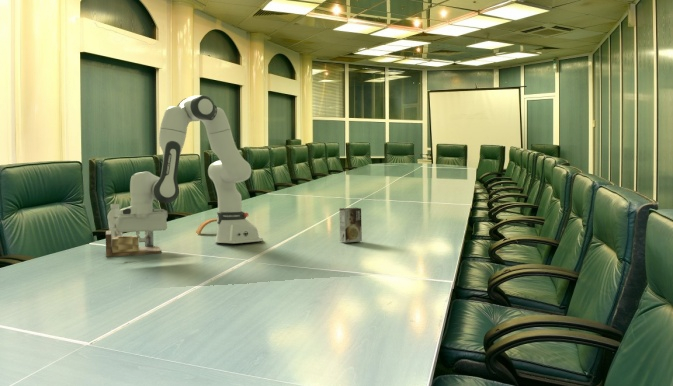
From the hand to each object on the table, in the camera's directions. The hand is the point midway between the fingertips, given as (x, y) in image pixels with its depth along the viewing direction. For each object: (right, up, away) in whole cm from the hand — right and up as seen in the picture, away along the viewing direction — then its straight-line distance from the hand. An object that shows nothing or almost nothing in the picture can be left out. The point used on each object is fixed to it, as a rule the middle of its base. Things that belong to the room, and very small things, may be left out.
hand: (142, 242), depth 210 cm
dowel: (-2, -4, +13) cm, 14 cm away
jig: (-3, -4, -1) cm, 5 cm away
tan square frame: (-6, -3, -3) cm, 7 cm away
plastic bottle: (-17, -4, +12) cm, 21 cm away
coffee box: (+90, -3, +29) cm, 94 cm away
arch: (+19, -3, +50) cm, 53 cm away
